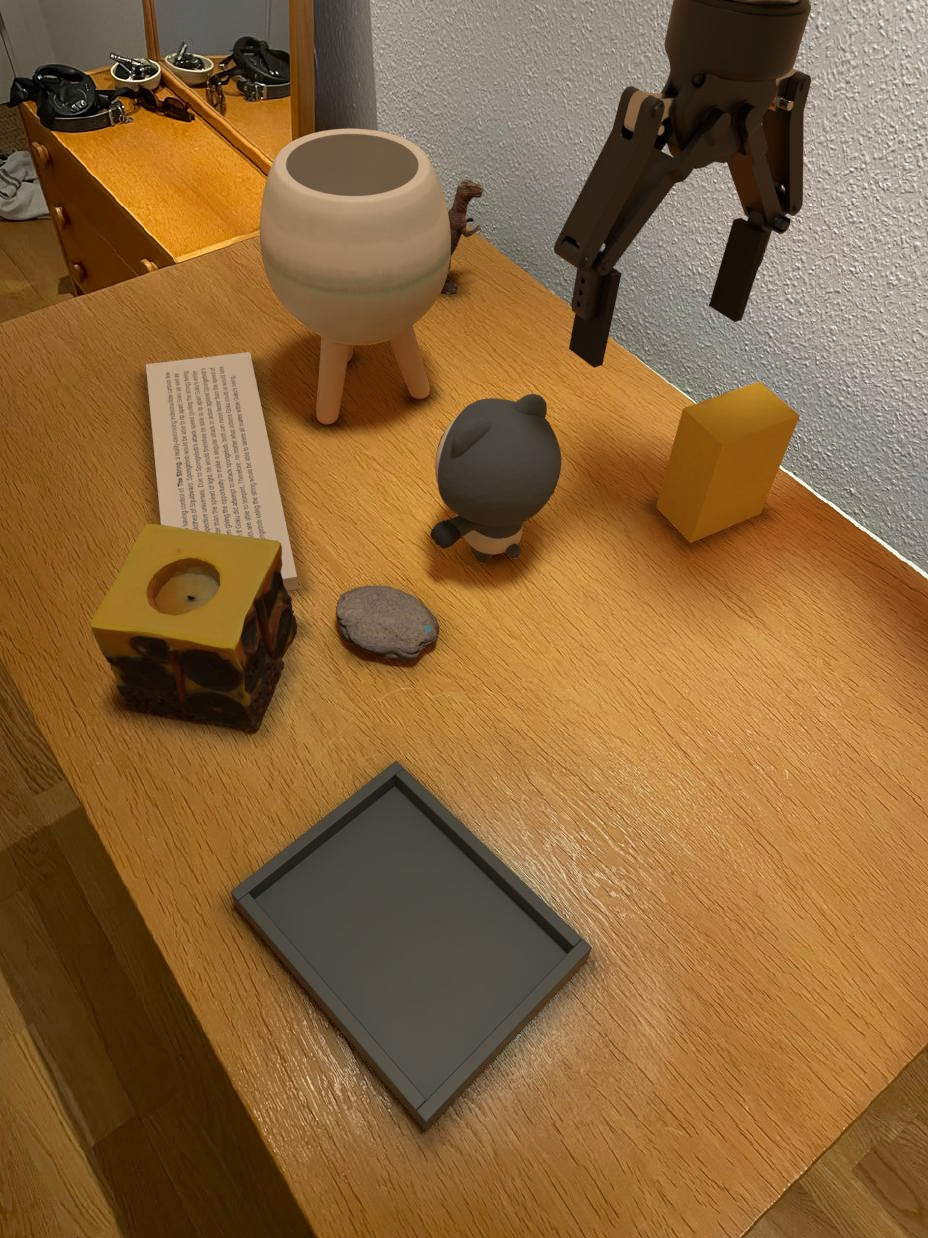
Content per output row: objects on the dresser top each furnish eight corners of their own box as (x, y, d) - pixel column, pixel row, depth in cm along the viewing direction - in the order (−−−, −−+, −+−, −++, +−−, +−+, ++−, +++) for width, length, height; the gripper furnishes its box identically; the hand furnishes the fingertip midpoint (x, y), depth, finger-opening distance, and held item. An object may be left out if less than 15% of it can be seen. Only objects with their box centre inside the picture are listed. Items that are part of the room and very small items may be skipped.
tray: (587, 961, 58) (592, 947, 56) (425, 1132, 52) (425, 1123, 50) (396, 776, 66) (396, 759, 64) (235, 906, 59) (229, 891, 58)
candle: (299, 627, 74) (286, 538, 66) (259, 736, 67) (239, 651, 60) (174, 606, 74) (146, 516, 67) (123, 711, 68) (86, 625, 60)
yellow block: (760, 513, 84) (800, 415, 75) (690, 543, 81) (722, 444, 73) (725, 479, 87) (759, 380, 78) (655, 507, 84) (682, 407, 75)
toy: (503, 487, 85) (518, 344, 73) (578, 558, 80) (606, 416, 68) (395, 538, 80) (393, 394, 68) (467, 617, 75) (477, 476, 63)
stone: (380, 579, 77) (379, 560, 76) (454, 634, 74) (455, 616, 72) (317, 625, 74) (315, 606, 72) (392, 685, 70) (392, 667, 69)
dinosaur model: (487, 182, 96) (343, 206, 93) (488, 289, 104) (356, 313, 102) (475, 166, 98) (334, 189, 96) (477, 271, 107) (348, 295, 104)
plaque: (296, 576, 75) (167, 598, 73) (298, 588, 76) (171, 610, 74) (249, 351, 93) (145, 364, 91) (251, 364, 94) (149, 376, 92)
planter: (291, 455, 86) (261, 221, 69) (271, 351, 96) (240, 123, 79) (462, 434, 89) (475, 204, 72) (426, 335, 99) (430, 112, 81)
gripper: (839, -46, 59) (741, 275, 75) (526, -20, 48) (486, 350, 64) (939, -14, 55) (813, 318, 71) (621, 22, 44) (554, 406, 60)
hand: (658, 334), depth 67 cm, fingers open, 13 cm apart
